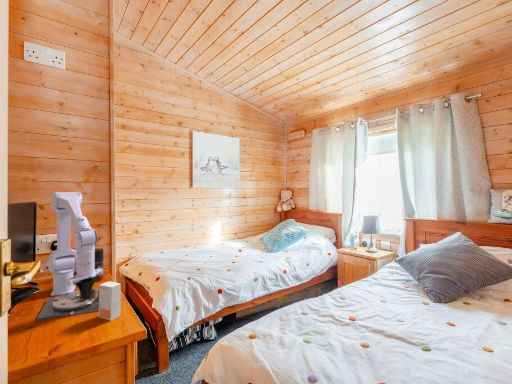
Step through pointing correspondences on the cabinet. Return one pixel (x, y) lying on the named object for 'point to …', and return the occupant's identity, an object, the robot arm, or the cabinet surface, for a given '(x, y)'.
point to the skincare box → (109, 300)
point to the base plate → (52, 313)
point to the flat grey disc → (74, 300)
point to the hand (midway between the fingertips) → (85, 298)
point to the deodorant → (98, 263)
